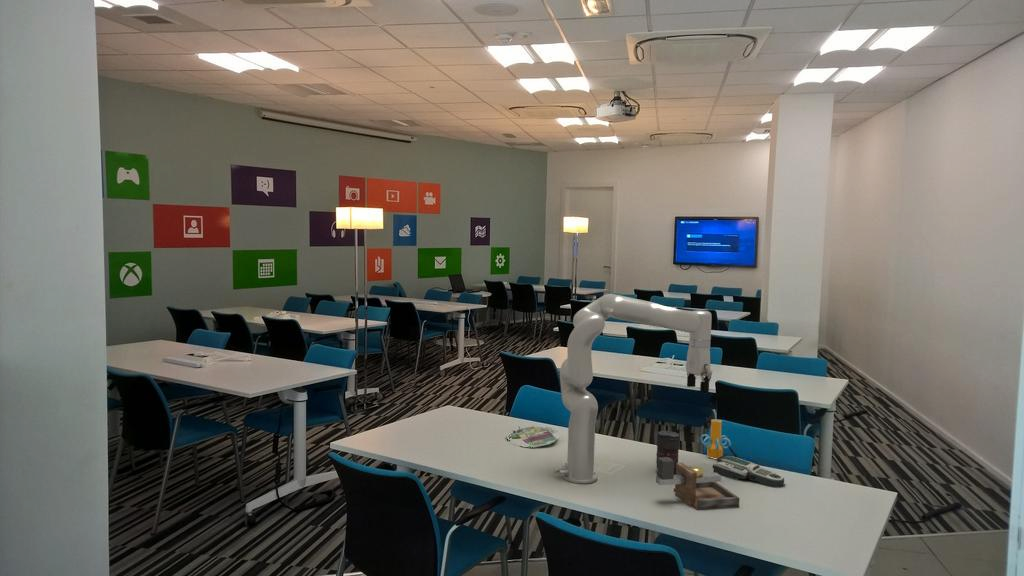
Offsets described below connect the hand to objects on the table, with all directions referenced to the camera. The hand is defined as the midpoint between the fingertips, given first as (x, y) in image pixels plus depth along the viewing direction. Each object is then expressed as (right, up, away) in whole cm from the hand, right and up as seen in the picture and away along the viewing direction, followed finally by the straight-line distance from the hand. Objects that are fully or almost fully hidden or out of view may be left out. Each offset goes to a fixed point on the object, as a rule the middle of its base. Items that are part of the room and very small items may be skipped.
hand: (697, 389), depth 236 cm
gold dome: (-8, -24, -26) cm, 36 cm away
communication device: (+18, -33, -3) cm, 37 cm away
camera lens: (-12, -31, -1) cm, 33 cm away
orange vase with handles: (+13, -31, +19) cm, 38 cm away
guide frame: (-5, -33, -25) cm, 41 cm away
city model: (-61, -28, +35) cm, 76 cm away
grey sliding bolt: (-11, -26, -26) cm, 39 cm away
